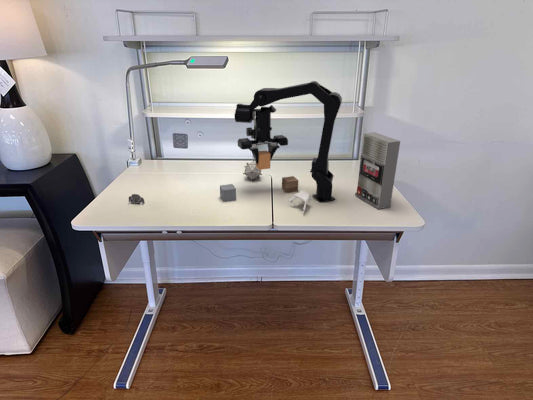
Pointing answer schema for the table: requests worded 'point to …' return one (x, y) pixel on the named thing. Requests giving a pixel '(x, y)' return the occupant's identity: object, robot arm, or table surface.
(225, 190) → the charcoal grey block
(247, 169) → the grey spiky ball
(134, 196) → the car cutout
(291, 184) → the walnut block
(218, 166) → the table surface
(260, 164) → the rust orange block
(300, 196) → the origami figure
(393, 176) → the cassette tape recorder
